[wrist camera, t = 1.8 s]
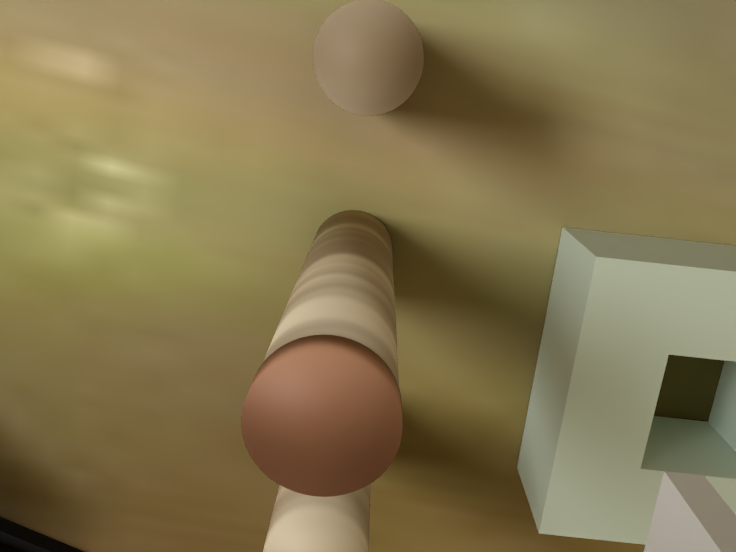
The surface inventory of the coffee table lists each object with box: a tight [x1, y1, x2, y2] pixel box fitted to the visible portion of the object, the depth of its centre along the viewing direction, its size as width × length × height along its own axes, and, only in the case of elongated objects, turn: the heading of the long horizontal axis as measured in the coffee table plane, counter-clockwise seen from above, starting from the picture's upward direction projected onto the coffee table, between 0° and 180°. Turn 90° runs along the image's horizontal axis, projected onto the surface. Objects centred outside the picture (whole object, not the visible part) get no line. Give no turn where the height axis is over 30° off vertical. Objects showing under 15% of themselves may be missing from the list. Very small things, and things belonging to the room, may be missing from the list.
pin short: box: [313, 0, 424, 116], centre depth 25 cm, size 4×4×7 cm
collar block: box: [517, 227, 736, 545], centre depth 30 cm, size 12×12×5 cm
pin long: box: [241, 210, 403, 497], centre depth 23 cm, size 4×4×16 cm
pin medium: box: [263, 484, 371, 552], centre depth 28 cm, size 4×4×11 cm
